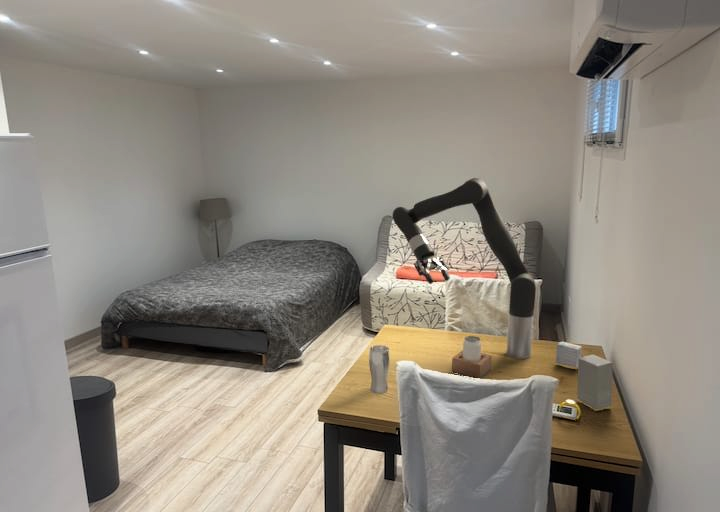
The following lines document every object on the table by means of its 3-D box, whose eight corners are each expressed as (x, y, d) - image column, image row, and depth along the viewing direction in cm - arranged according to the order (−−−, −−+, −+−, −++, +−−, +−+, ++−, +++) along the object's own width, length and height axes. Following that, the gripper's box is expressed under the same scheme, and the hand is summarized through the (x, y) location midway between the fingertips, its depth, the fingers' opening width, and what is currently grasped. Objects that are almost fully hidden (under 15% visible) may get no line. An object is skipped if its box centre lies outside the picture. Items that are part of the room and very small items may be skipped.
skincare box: (611, 409, 159) (616, 362, 156) (593, 413, 157) (598, 366, 153) (590, 397, 167) (595, 352, 164) (573, 401, 164) (578, 355, 161)
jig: (463, 363, 194) (464, 348, 193) (490, 370, 188) (491, 355, 186) (451, 373, 185) (452, 358, 184) (479, 380, 179) (480, 365, 178)
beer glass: (382, 396, 168) (383, 354, 165) (365, 391, 171) (365, 349, 168) (392, 388, 173) (393, 347, 170) (375, 383, 177) (375, 343, 174)
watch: (579, 420, 153) (582, 402, 152) (578, 424, 151) (581, 406, 150) (558, 414, 156) (561, 396, 155) (557, 418, 154) (560, 400, 152)
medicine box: (580, 367, 190) (582, 346, 188) (576, 371, 187) (578, 349, 185) (559, 361, 195) (561, 340, 194) (555, 365, 192) (556, 344, 191)
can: (480, 373, 182) (481, 342, 180) (461, 372, 184) (463, 341, 181) (479, 366, 189) (481, 336, 186) (462, 364, 190) (463, 335, 188)
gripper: (412, 244, 197) (431, 278, 190) (439, 240, 205) (458, 273, 198) (403, 255, 202) (421, 289, 195) (429, 251, 210) (448, 283, 203)
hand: (440, 281), depth 196 cm, fingers open, 8 cm apart
